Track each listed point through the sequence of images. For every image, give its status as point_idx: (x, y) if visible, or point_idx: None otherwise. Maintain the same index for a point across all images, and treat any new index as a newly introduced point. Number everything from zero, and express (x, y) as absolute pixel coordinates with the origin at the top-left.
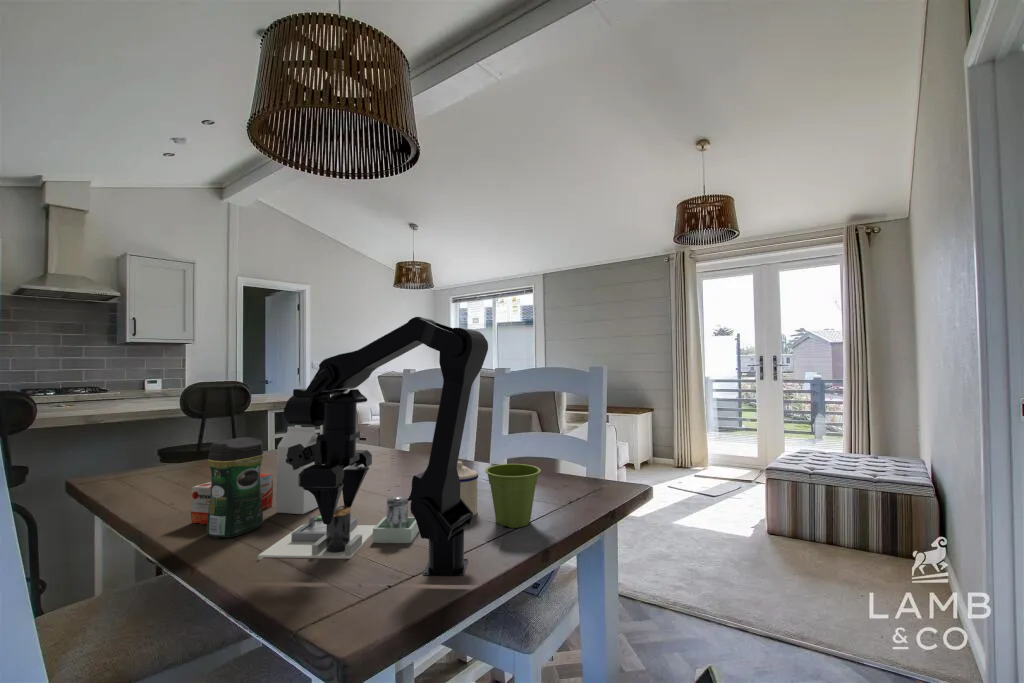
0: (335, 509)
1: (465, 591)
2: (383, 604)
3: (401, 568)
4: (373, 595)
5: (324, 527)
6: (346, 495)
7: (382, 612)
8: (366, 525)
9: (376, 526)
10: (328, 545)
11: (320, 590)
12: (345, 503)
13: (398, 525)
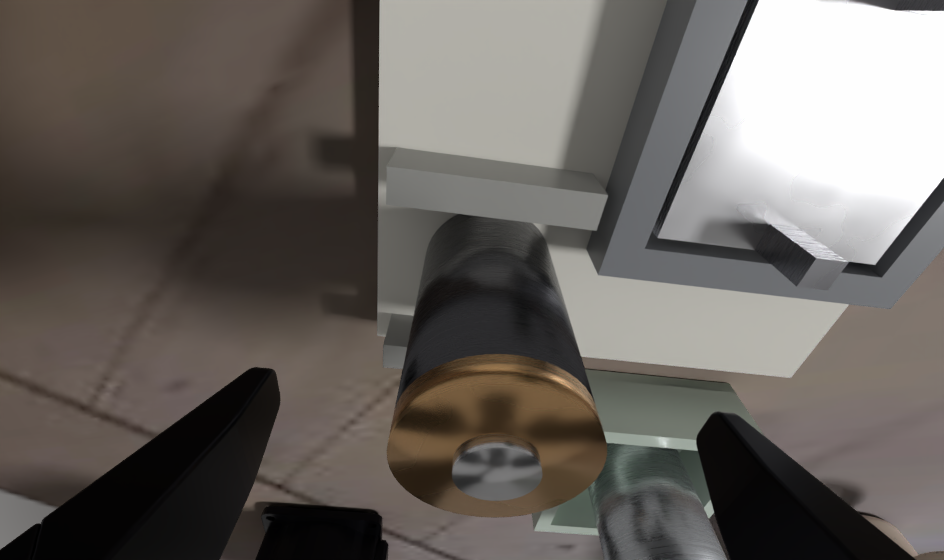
0: (217, 551)
1: None
2: (83, 450)
3: (329, 461)
4: (123, 425)
5: (813, 130)
6: (783, 535)
7: (41, 452)
8: (829, 324)
9: (611, 437)
10: (434, 247)
11: (82, 280)
12: (732, 450)
13: (591, 501)
